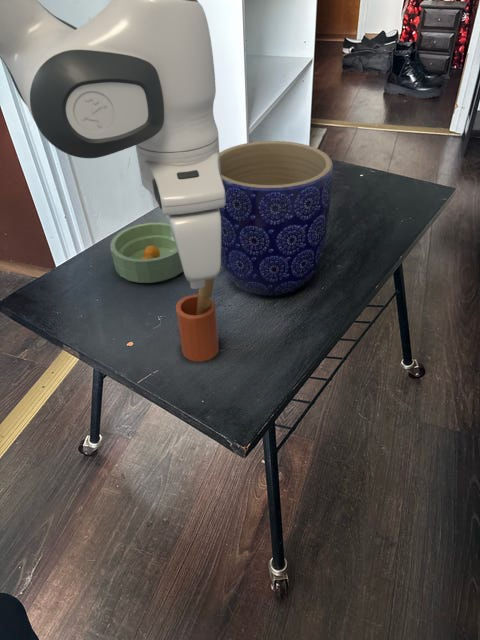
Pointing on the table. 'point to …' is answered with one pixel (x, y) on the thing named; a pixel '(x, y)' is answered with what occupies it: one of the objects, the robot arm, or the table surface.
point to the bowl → (131, 248)
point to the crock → (197, 329)
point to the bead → (151, 251)
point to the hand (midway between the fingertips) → (191, 270)
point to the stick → (205, 297)
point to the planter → (274, 214)
